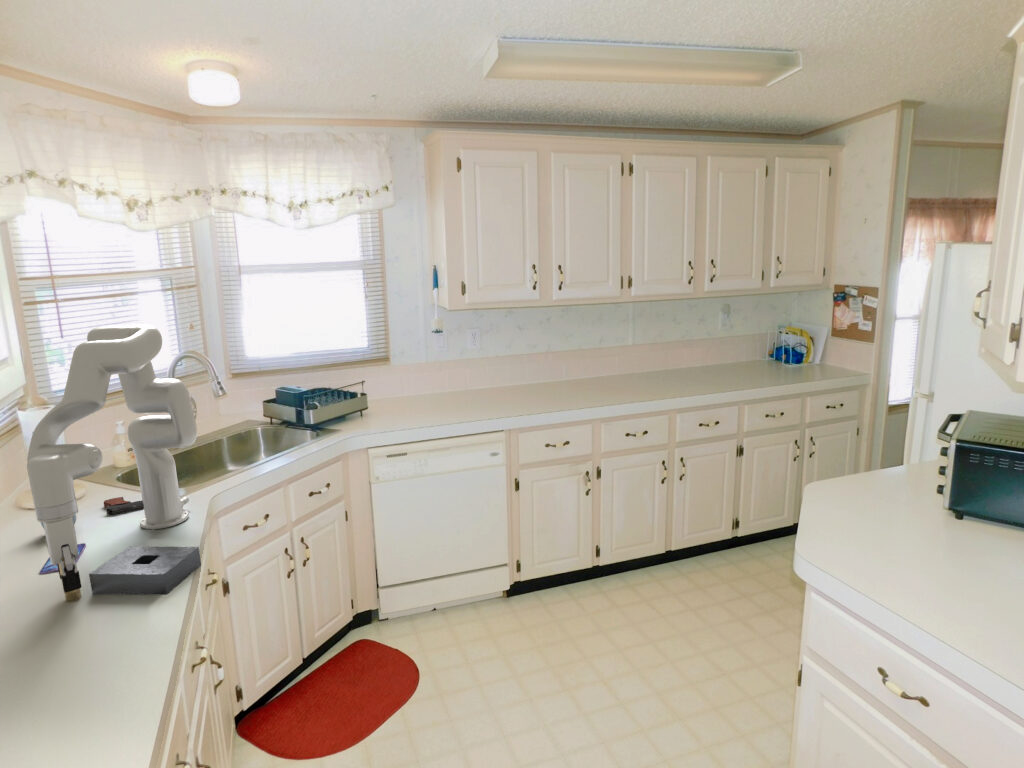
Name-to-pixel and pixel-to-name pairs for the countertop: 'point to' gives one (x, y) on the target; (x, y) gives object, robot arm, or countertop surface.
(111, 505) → the handgun
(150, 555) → the block
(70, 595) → the brass pin
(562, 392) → the countertop surface
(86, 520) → the countertop surface
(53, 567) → the smartphone
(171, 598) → the countertop surface
